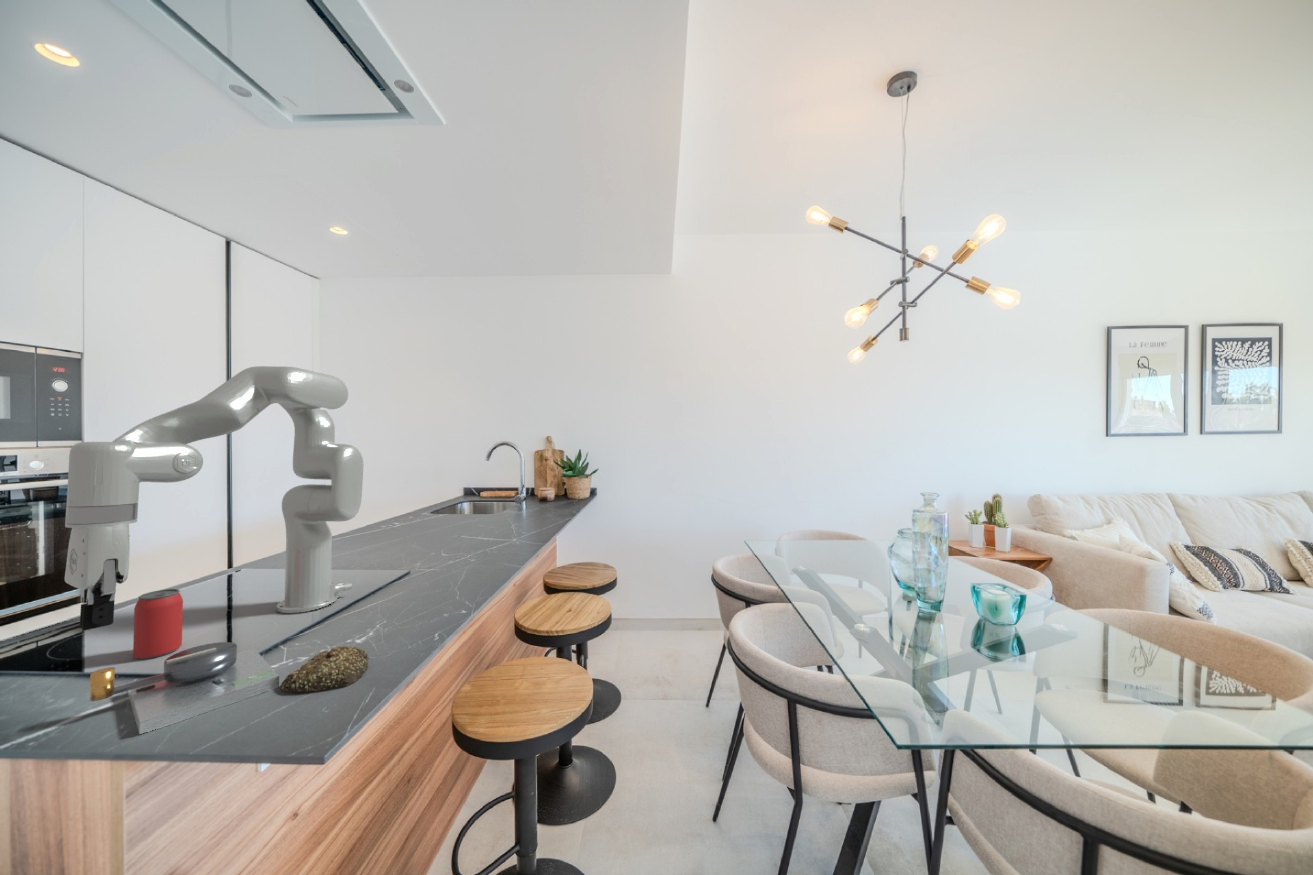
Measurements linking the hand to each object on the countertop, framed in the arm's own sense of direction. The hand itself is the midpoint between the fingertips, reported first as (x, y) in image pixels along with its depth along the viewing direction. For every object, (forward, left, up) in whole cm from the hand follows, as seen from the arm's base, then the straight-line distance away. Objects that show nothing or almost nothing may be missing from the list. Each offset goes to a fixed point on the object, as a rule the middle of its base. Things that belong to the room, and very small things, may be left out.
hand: (96, 626), depth 73 cm
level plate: (-11, +10, -12) cm, 20 cm away
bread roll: (-27, +21, -13) cm, 36 cm away
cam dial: (-8, +7, -10) cm, 14 cm away
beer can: (-8, -16, -13) cm, 22 cm away
